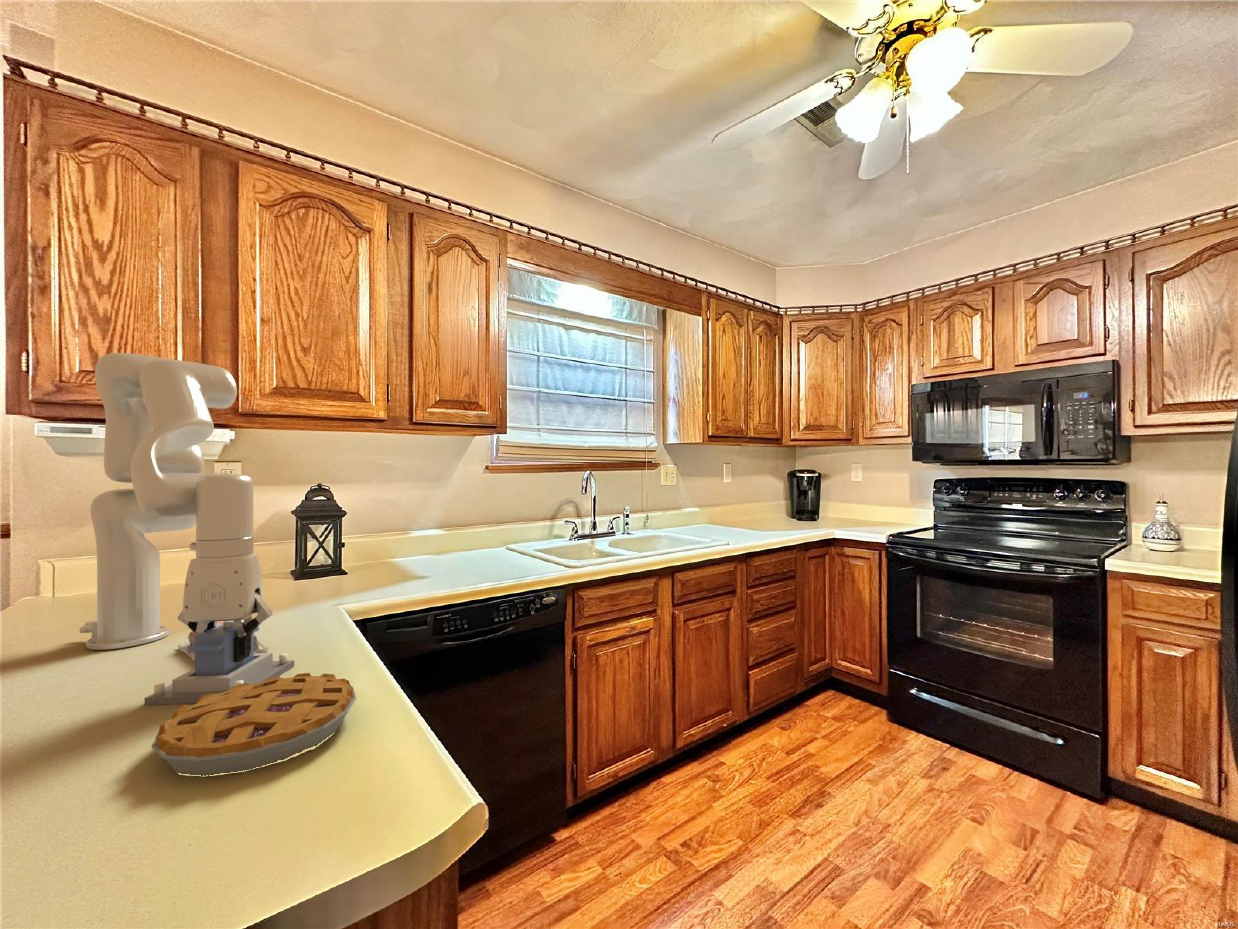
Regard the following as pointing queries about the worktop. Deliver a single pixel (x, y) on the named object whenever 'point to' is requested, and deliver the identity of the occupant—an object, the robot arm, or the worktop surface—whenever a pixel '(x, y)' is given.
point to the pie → (254, 724)
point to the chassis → (218, 680)
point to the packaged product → (257, 646)
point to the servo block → (218, 651)
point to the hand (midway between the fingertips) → (225, 658)
